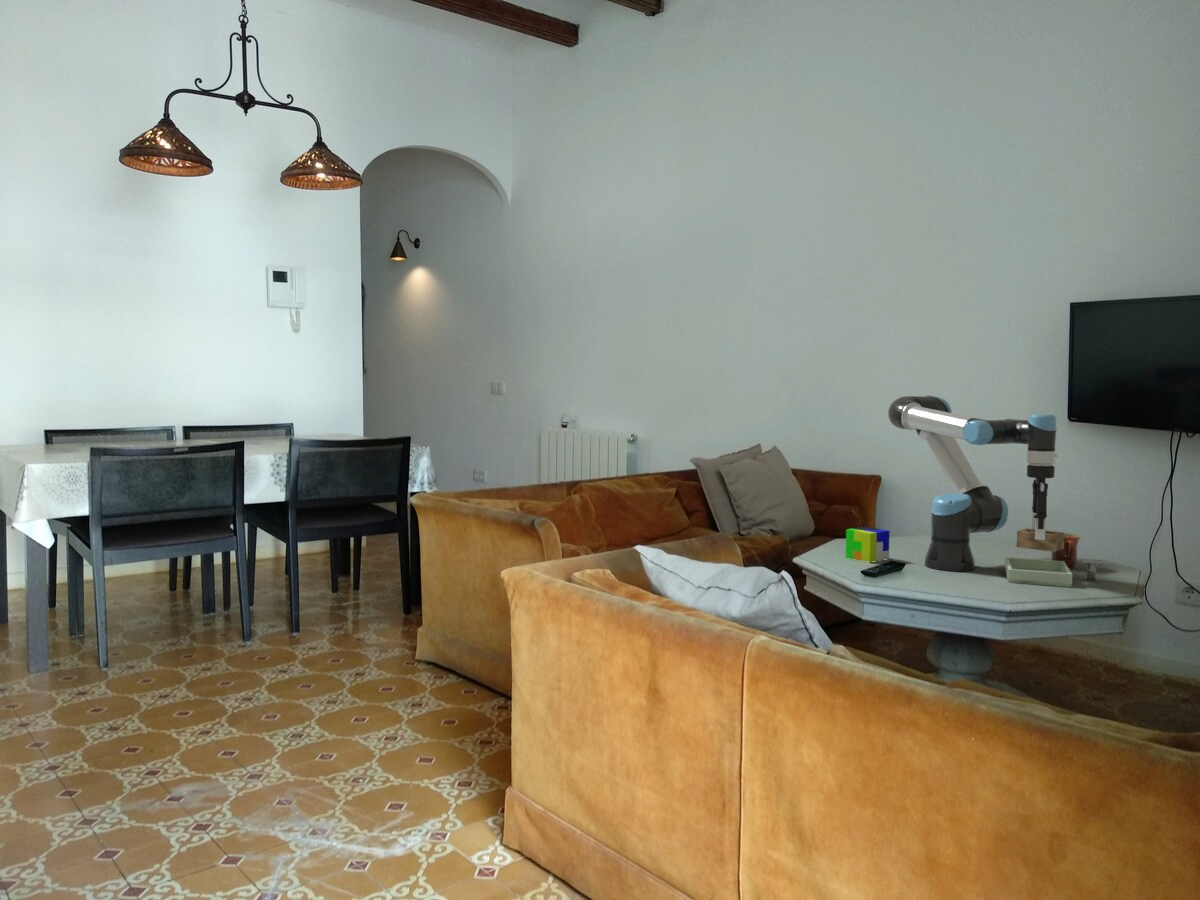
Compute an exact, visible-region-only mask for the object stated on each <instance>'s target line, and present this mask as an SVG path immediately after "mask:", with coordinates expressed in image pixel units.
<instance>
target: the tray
mask: <svg viewBox="0 0 1200 900" xmlns="http://www.w3.org/2000/svg"><path fill="white" fill-rule="evenodd" d="M1004 572H1005V576H1006V579H1007V583H1015V584H1017V583H1018V584H1026V585H1027V584H1028V585H1029V584H1030V585H1042V586H1043V585H1044V586H1052V587H1053V586H1054V587H1055V586H1056V587H1066V588H1072V587H1073V573H1072V571H1071V570H1070V568H1068V566H1067V565H1066V563H1065V562H1064V561H1053V560H1051V559H1050V560H1049V559H1036V558H1034V559H1033V558H1025V557H1024V558H1023V557H1022V558H1019V557H1007V556H1005V557H1004Z"/></svg>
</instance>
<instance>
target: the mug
mask: <svg viewBox="0 0 1200 900" xmlns="http://www.w3.org/2000/svg"><path fill="white" fill-rule="evenodd" d="M1080 539H1081V536H1080V535H1078V534H1074V533H1066V532H1064V549H1061V550H1059V551H1056V552H1051V557H1050V560H1053V561H1064V562H1065V563H1066V565H1067V566H1068V568H1069V569H1073V568H1076V566H1077V561H1078V545H1079V541H1080Z"/></svg>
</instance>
